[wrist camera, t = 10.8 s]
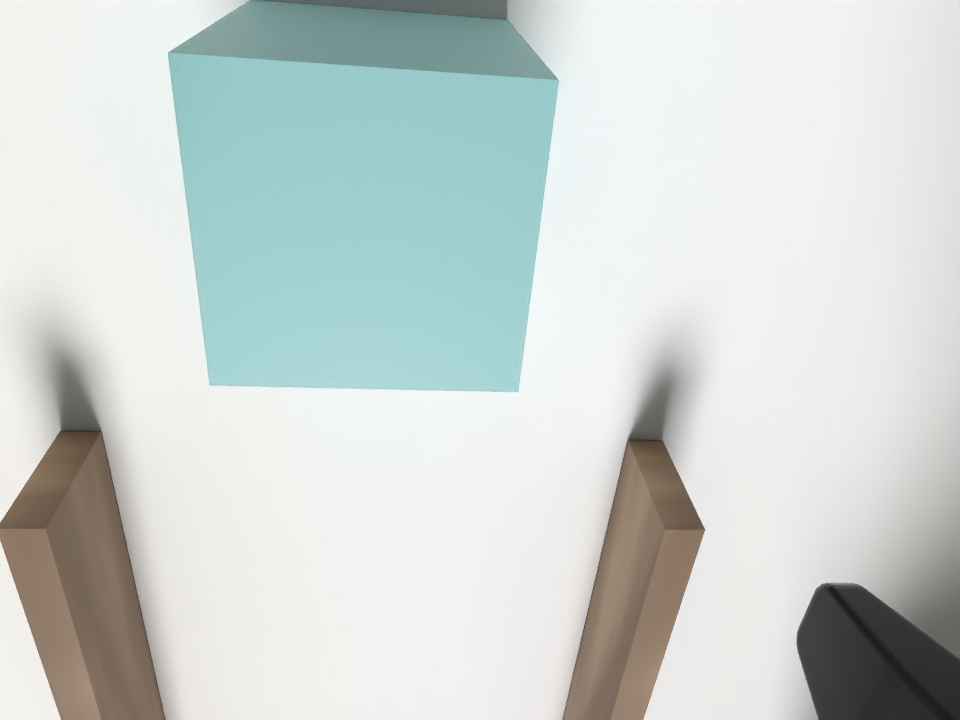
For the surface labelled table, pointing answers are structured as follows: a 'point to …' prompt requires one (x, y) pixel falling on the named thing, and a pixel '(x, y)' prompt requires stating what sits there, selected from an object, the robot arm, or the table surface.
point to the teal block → (363, 195)
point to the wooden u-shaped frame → (121, 634)
